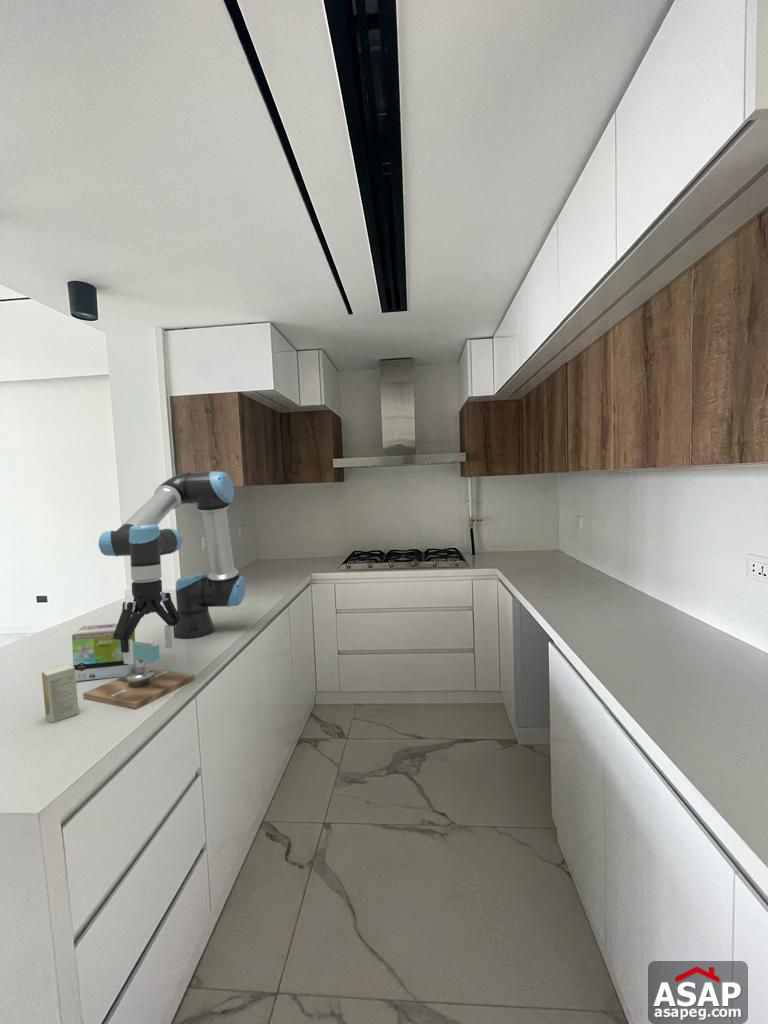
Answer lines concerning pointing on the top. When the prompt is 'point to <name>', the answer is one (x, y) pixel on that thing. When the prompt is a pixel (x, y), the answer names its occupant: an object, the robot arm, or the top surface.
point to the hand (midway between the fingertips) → (150, 655)
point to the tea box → (98, 653)
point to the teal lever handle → (142, 660)
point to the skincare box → (60, 693)
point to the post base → (138, 689)
